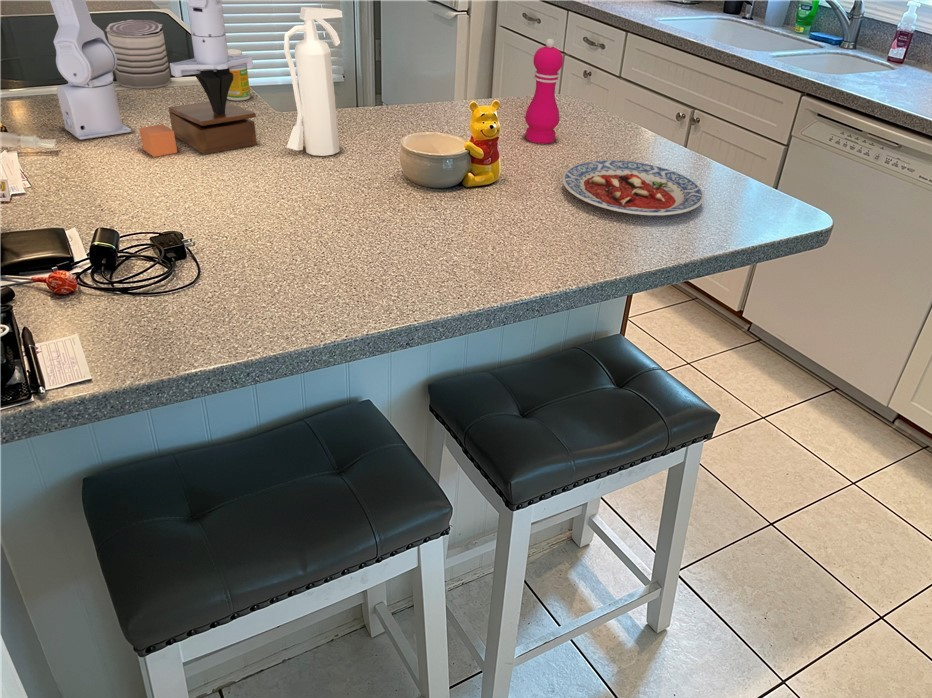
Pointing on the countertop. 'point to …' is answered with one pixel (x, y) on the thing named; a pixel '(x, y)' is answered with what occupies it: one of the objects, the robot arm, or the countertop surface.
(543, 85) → the pepper mill
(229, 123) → the box
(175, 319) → the countertop surface
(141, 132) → the block
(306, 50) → the fire extinguisher
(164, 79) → the can
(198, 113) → the lid
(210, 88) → the robot arm
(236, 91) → the supplement bottle
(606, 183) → the ceramic plate
